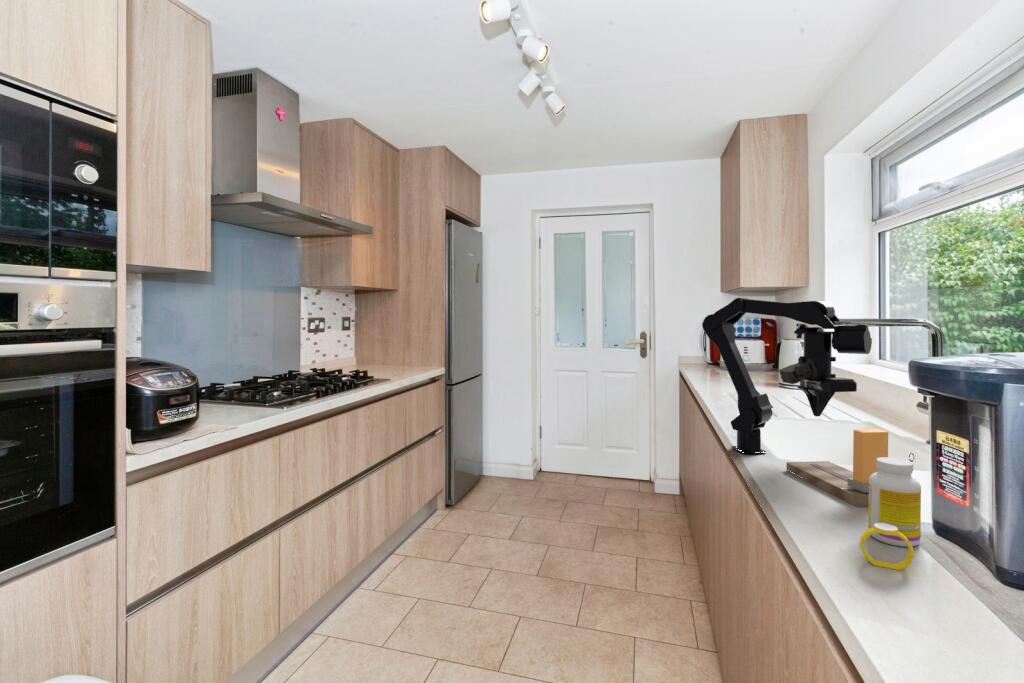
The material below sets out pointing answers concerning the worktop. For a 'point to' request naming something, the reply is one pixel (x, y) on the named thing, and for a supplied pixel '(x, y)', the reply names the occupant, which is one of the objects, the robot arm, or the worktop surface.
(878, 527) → the watch
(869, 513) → the supplement bottle
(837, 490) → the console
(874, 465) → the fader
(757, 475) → the worktop surface
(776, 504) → the worktop surface
